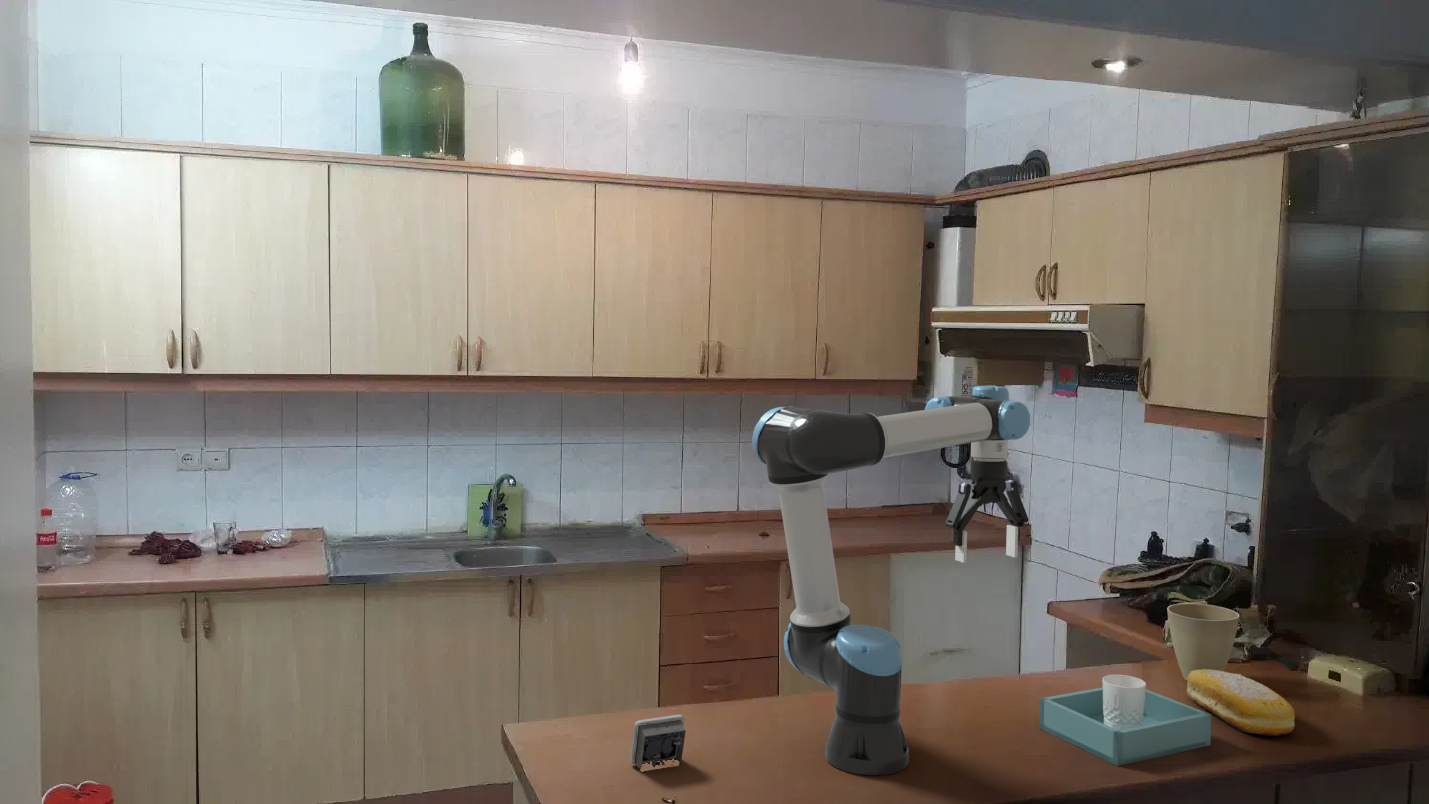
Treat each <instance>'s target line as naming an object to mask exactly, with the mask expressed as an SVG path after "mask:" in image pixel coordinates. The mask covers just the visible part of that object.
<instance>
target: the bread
mask: <svg viewBox="0 0 1429 804" xmlns="http://www.w3.org/2000/svg"><path fill="white" fill-rule="evenodd" d="M1186 695H1187V696H1188V698H1189V700H1191V701H1192V702H1194V703H1195V704H1196V705H1198V706H1200V707H1201V708H1203V709H1204V710H1206V711H1208V713H1209V712H1210V714H1211V715H1214V716H1215V717H1216V718H1217V719H1219V720H1221V721H1222V722H1224V723H1226V724H1228V725H1229V726H1231V727H1233V728H1234V729H1237V730H1238V731H1240V732H1243V733H1246V734H1256V735H1263V736H1271V737H1281V736H1284V735H1288V734H1290V733H1292V732H1293V730H1294V728H1295V726H1296V725H1295V723H1296V722H1295V719H1296V716H1295V715H1296V713H1295V709H1294V707H1293V706H1292V705H1291V704H1290V703H1289V702H1288V701H1287V700H1286V699H1285V698H1284V697H1282V696H1281V695H1280V694H1278V693H1276V691H1275V690H1272V689H1271V688H1269V687H1268V686H1266V685H1264V684H1262V683H1260V682H1257V681H1256V680H1253V679H1251V678H1249V677H1246V676H1244V675H1242V674H1241V673H1234V672H1233V673H1232V672H1228V671H1225V670H1224V671H1219V670H1210V669H1208V670H1207V669H1203V670H1194V671H1191V672H1190V674H1189V675H1188V677H1187V687H1186Z"/></svg>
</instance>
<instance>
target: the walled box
mask: <svg viewBox="0 0 1429 804" xmlns="http://www.w3.org/2000/svg"><path fill="white" fill-rule="evenodd" d="M1038 720H1039V723H1038V724H1039V725H1038V728H1039V729H1040V728H1041V729H1040V730H1042V729H1043V730H1042V731H1044V732H1046V731H1047V732H1046V733H1049V734H1051V735H1052V736H1055V737H1057V738H1059V739H1061V740H1063V741H1065V742H1067V743H1069V744H1071V745H1073V746H1075V745H1076V746H1075V747H1078V748H1079V747H1080V748H1079V749H1081V748H1082V750H1083V749H1084V751H1085V752H1088V753H1090V754H1092V755H1093V756H1095V757H1098V758H1100V759H1102V760H1104V761H1106V762H1108V763H1110V764H1113V765H1114V766H1117V767H1120V766H1124V765H1129V764H1133V763H1138V762H1141V761H1146V760H1150V759H1155V758H1161V757H1164V756H1168V755H1172V754H1173V755H1174V754H1178V753H1181V752H1186V751H1191V750H1196V749H1199V748H1205V747H1208V746H1211V735H1212V733H1211V732H1212V713H1209V712H1205V711H1203V710H1201V709H1198V708H1195V707H1193V706H1191V705H1187V704H1186V703H1182V702H1180V701H1177V700H1175V699H1172V698H1170V697H1168V696H1165V695H1162V694H1159V693H1156V692H1154V691H1152V690H1150V689H1147V688H1146V691H1145V704H1144V713H1143V721H1142V726H1137V727H1132V728H1128V729H1123V730H1116V729H1114V728H1112V727H1109V726H1107V725H1105V724H1104V714H1103V686H1102V687H1096V688H1091V689H1086V690H1080V691H1079V690H1078V691H1075V692H1069V693H1063V694H1057V695H1053V696H1045V697H1042V698H1039V719H1038Z"/></svg>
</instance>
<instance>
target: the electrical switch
mask: <svg viewBox="0 0 1429 804" xmlns="http://www.w3.org/2000/svg"><path fill="white" fill-rule="evenodd" d="M684 724H685V718H684V716H683V715H682V714H673V715H668V716H667V715H666V716H661V717H660V716H659V717H653V718H652V717H651V718H646V719H638V720H636V721H635V722H634V723H633V731H632V732H633V733H632V742H631V750H630V758H629V759H630V760H629V761H630V764H636V765H638V767H639V768H640V769H641V767H642V764H645V763H648V764H650V762H652V764H653V763H654V764H657V763H655V762H657V761H660V762H661V763H663V762H662V761H663V760H665V761H667V760H672V759H673V758H674V760H678V761H679V762H680V763H681V764H682V761H683V752H684V744H685V738H686V729H685V728H684ZM660 762H659V763H660ZM654 764H653V765H654ZM638 767H637V768H638ZM639 768H638V769H639Z"/></svg>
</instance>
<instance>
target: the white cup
mask: <svg viewBox="0 0 1429 804" xmlns="http://www.w3.org/2000/svg"><path fill="white" fill-rule="evenodd" d="M1101 679H1102V682H1101V683H1102V687H1103V714H1104V724H1105V725H1107V726H1109V727H1112V728H1114V729H1116V730H1123V729H1128V728H1132V727H1137V726H1142V721H1143V713H1144V704H1145V691H1146V689H1147V683H1146V681H1144V679H1141V678H1139V677H1135V676H1131V675H1125V674H1108V675H1105V676H1103V677H1102V678H1101Z"/></svg>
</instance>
